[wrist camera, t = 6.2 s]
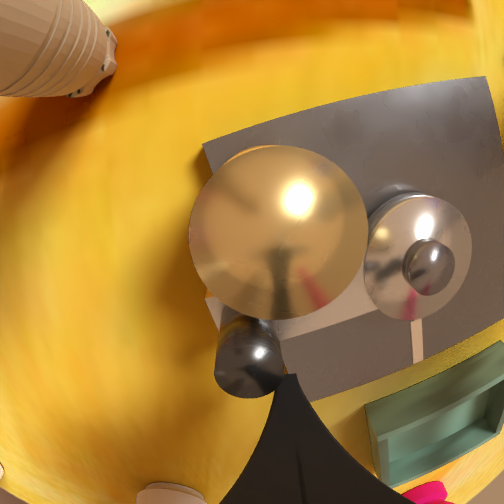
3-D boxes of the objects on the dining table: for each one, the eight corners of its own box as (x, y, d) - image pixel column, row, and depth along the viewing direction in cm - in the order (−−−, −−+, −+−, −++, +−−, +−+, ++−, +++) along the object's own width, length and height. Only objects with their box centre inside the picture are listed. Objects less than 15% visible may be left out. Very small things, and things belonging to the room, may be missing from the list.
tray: (500, 340, 16) (522, 361, 13) (485, 413, 18) (499, 433, 16) (364, 405, 17) (377, 436, 14) (373, 466, 19) (382, 491, 17)
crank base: (473, 78, 11) (486, 75, 10) (497, 308, 15) (508, 316, 14) (205, 144, 12) (201, 143, 11) (297, 392, 16) (300, 406, 15)
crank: (449, 179, 11) (518, 199, 7) (459, 284, 13) (512, 329, 9) (196, 258, 12) (174, 313, 8) (239, 360, 14) (238, 432, 10)
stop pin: (301, 130, 11) (341, 123, 6) (332, 232, 12) (381, 288, 7) (195, 166, 11) (161, 184, 7) (233, 265, 13) (227, 339, 8)
